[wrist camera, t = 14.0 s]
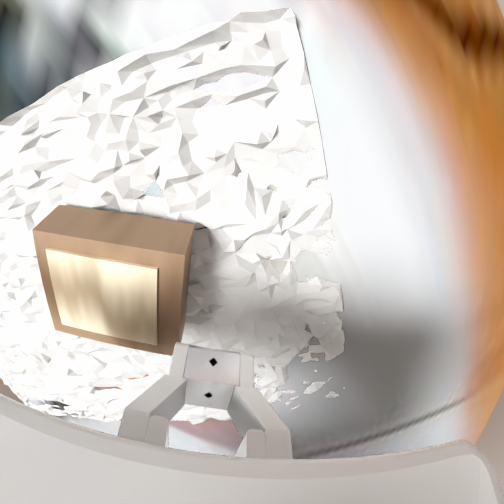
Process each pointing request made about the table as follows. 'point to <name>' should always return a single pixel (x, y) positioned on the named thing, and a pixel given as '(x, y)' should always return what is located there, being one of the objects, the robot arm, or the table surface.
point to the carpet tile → (174, 210)
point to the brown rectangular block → (115, 276)
